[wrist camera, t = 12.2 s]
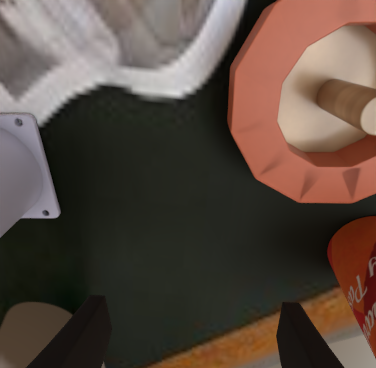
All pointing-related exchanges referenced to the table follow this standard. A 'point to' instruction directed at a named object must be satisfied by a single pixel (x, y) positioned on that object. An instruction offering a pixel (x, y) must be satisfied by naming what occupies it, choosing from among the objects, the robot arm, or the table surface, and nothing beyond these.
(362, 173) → the ring
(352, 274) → the coffee cup
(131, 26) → the table surface
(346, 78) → the post
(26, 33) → the table surface
